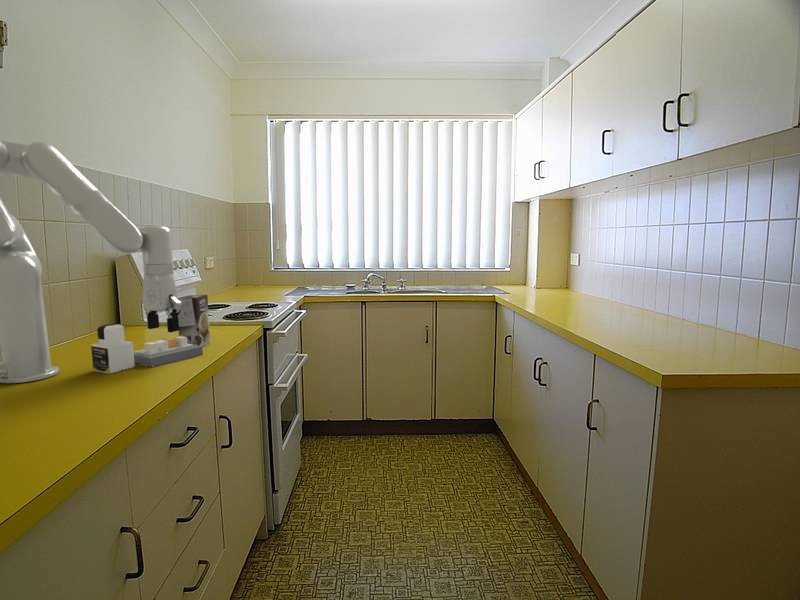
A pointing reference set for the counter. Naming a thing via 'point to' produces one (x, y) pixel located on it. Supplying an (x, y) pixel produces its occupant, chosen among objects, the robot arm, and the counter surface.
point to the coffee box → (194, 319)
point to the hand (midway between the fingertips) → (163, 329)
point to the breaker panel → (166, 351)
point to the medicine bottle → (112, 350)
